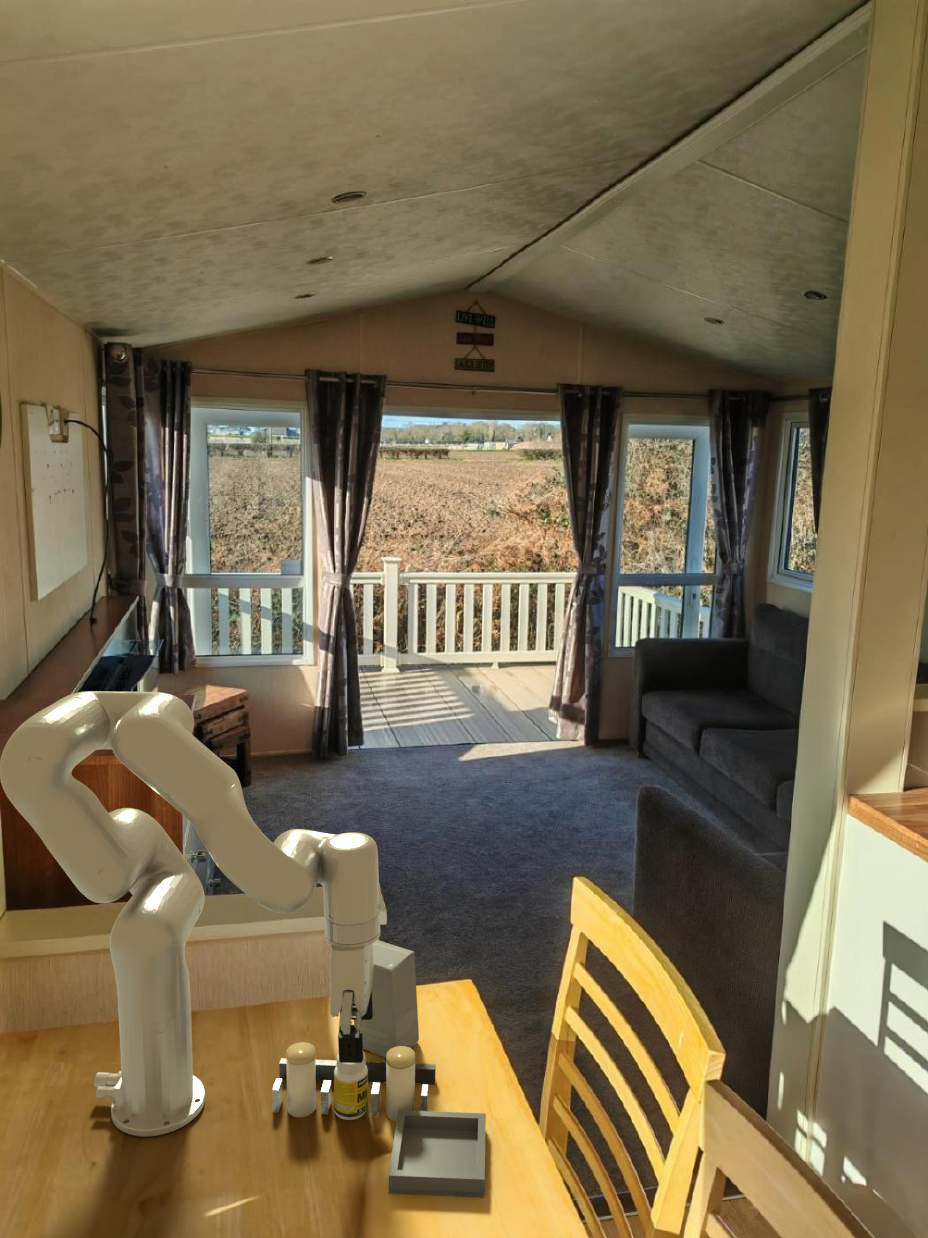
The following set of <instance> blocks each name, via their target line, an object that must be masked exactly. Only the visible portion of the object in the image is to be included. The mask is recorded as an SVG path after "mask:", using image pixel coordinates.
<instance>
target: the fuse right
mask: <svg viewBox="0 0 928 1238" xmlns="http://www.w3.org/2000/svg"><path fill="white" fill-rule="evenodd" d="M385 1060H386V1061H385V1062H386V1083H385V1093H386V1094H385V1114H386V1117H387V1118H388V1119H389V1120H391V1121H394V1122H397V1116H398V1110H410V1111H416V1107H415V1106H416V1104H415V1101H416V1099H415V1098H416V1095H415V1094H416V1084H415V1064H416V1052H415V1050H413V1048H412V1047H411V1048H409V1047H406V1046H397V1047H393V1048H391V1049H390V1050H389V1051H388V1052H387V1055H386V1058H385Z"/></svg>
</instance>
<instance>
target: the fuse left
mask: <svg viewBox="0 0 928 1238" xmlns="http://www.w3.org/2000/svg"><path fill="white" fill-rule="evenodd" d="M285 1052H286V1053H285V1055H286V1060H287V1079H286V1110H287V1113H288V1114H289V1116H291V1117H293V1118H304V1117H305V1118H306V1117H308V1116H310V1115H311V1114H313V1113H314V1112H315V1110H316V1108H317V1095H316V1093H317V1091H316V1090H317V1087H316V1086H317V1082H316V1081H317V1080H316V1061H315V1060H316V1047H315V1046H314V1045H313V1044H312V1043H309V1042H306V1041H305V1042H304V1041H303V1042H301V1041H300V1042H296V1043H293V1044H291V1045H290V1046H288V1048H287V1050H286V1051H285Z"/></svg>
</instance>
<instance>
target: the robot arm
mask: <svg viewBox="0 0 928 1238" xmlns="http://www.w3.org/2000/svg"><path fill="white" fill-rule="evenodd" d="M194 728H195V717H194V714H193V712H192V710H191V708H190V707H189V706H188V704H187V703H186V702H185V701H184V700H183V699H182V698H179V697H177V696H176V695H174V694H170V693H166V692H158V691H157V692H155V691H105V690H104V691H101V690H99V691H97V690H95V691H93V690H91V691H89V690H88V691H79V692H75V693H72V694H67V696H64V697H62V698H60V699H59V700H57V701H55V702H53V703H51V704H50V705H48V706H47V707H44V708H43V709H41V710H40V711H37V712H36V713H34V715H32V716H30V717H29V718H27V719H26V720H25V721H24V722H22V723H21V724H20V725H19V726H18V727H17V728H16V729H15V731H13V732H12V734H11V736H10V737H9V739H8V740H7V742H6V744H5V745H4V748H3V750H2V753H1V756H0V783H1V787H2V789H3V791H4V793H5V795H6V797H7V799H8V800H9V801H10V803H11V804H12V806H13V807H14V808H15V809H16V811H17V812H18V813H19V814H20V815H21V816H22V817H23V818H24V820H25V821H26V822H27V823H28V825H30V827H31V828H32V829H33V830H34V832H35V833H36V834H37V836H38V837H39V838H40V839H41V841H42V843H43V845H45V847H46V848H47V850H48V851H49V853H50V854H51V855H52V857H53V858H54V859H55V861H56V862H57V863H58V865H59V866H60V867H61V869H62V870H63V872H65V874H66V875H67V876H68V878H69V879H70V881H71V882H72V884H73V885H74V886H75V888H76V889H77V890H78V891H79V892H80V894H82V895H84V897H86V898H87V899H88V900H89V901H91V902H93V903H98V904H109V903H113V902H116V901H117V900H119V899H121V898H122V897H123V896H125V895H127V893H131V895H132V896H131V897H130V898H129V900H128V901H127V903H126V904H125V905H124V907H123V908H122V910H120V912H119V914H118V916H117V917H116V919H115V922H114V923H113V926H112V928H111V932H110V937H109V953H110V957H111V961H112V963H111V964H112V967H113V970H114V976H115V984H116V993H117V994H116V995H117V996H116V997H117V1012H118V1030H119V1032H118V1033H119V1052H120V1070H119V1071H118V1073H116V1072H115V1073H112V1072H103V1071H99V1072H96V1074H95V1077H94V1081H93V1083H94V1084H93V1085H94V1087H95V1088H96V1090H95V1091H96V1092H95V1097H96V1098H112V1103H111V1106H110V1107H111V1108H110V1114H111V1120H112V1123H113V1124H114V1126H115V1127H116V1128H117V1129H118V1130H119V1131H121V1132H123V1133H125V1134H128V1135H130V1136H135V1137H157V1136H162V1135H165V1134H169V1133H173V1132H175V1131H176V1130H179V1129H181V1128H183V1127H184V1126H186V1125H187V1124H189V1123H190V1122H191V1121H193V1120H194V1119H195V1118H197V1116H198V1115H199V1114H200V1113H201V1111H202V1109H203V1107H204V1106H205V1102H206V1090H205V1086H204V1084H203V1082H202V1080H200V1079H199V1078H198V1077H196V1076H195V1075H194V1065H193V1062H194V1061H193V1036H192V1034H193V1033H192V1030H193V1029H192V1004H191V1003H192V1000H191V983H190V982H191V981H190V972H189V969H188V965H187V961H186V955H185V952H186V946H187V945H186V944H187V941H188V939H189V937H190V935H191V933H192V931H193V928H194V927H195V925H196V923H197V921H198V920H199V918H200V916H201V914H202V912H203V909H204V905H205V899H206V897H205V891H204V887H203V885H202V881H201V879H200V878H199V876H198V875H197V874H196V872H195V870H194V869H193V868H192V866H191V865H190V863H189V862H188V861H187V859H186V858H185V857H184V855H183V854H182V852H181V851H180V849H179V848H178V847H177V845H176V844H175V842H174V841H173V840H172V839H171V837H170V835H169V834H168V833H167V832H166V831H165V829H164V828H163V826H162V825H161V824H160V823H159V822H158V820H156V818H154V817H152V816H151V815H150V814H149V813H146V812H145V811H143V810H141V809H137V808H131V807H122V808H117V809H115V810H112V811H109V812H108V811H107V809H106V808H105V806H104V805H103V804H102V802H101V801H100V799H99V798H98V797H97V795H96V794H95V793H94V792H93V791H92V789H90V788H89V787H88V786H87V785H85V784H84V783H82V782H81V781H79V780H78V779H76V778H75V777H74V776H73V775H72V774H73V773H72V772H73V770H74V768H75V767H76V766H78V764H80V763H81V762H82V761H84V760H85V759H87V758H88V757H89V756H90V755H91V754H93V753H94V752H95V751H99V750H112V753H113V755H114V756H115V757H116V758H117V760H118V761H119V762H120V763H121V764H122V765H123V766H124V767H126V768H127V769H128V770H129V771H130V772H131V773H132V774H134V775H135V776H137V777H136V778H139V779H140V780H141V781H142V782H144V784H146V785H147V786H148V787H149V788H151V789H152V790H153V791H154V792H155V793H156V794H158V795H159V796H160V797H161V798H162V799H164V800H165V802H167V803H168V804H169V805H171V806H172V807H173V808H174V809H175V810H177V812H179V813H180V814H181V815H182V816H183V817H185V818H186V819H187V820H188V821H189V822H190V823H191V825H192V826H193V828H194V830H195V832H196V834H197V836H198V837H199V840H200V842H201V843H202V844H203V846H204V847H205V849H206V851H207V852H208V854H209V856H210V857H211V859H212V860H213V862H214V864H215V865H216V866H217V868H218V869H219V870H220V872H222V873H223V875H224V876H225V877H226V878H227V879H228V880H229V881H230V882H231V883H232V884H234V885H235V886H236V887H237V888H238V889H240V890H241V891H242V892H243V893H244V894H246V895H247V896H248V897H249V898H251V899H252V900H253V901H255V903H257V904H259V906H261V907H263V908H265V909H266V910H269V911H272V912H274V913H279V914H291V913H295V912H296V911H299V910H301V909H302V908H304V907H305V906H307V904H308V903H309V901H310V900H311V898H312V896H313V894H314V892H315V889H316V887H317V884H320V885H321V886H322V893H323V918H324V919H323V920H324V938H325V942H327V943H328V944H330V957H329V958H330V960H329V962H330V963H329V964H330V965H329V1014H330V1016H331V1017H332V1018H335V1017H338V1016H339V1021H338V1023H339V1024H338V1034H337V1041H338V1042H337V1043H338V1044H337V1045H338V1046H337V1047H338V1053H339V1061H340V1062H341V1063H361V1062H362V1061H363V1051H364V1049H363V1034H362V1033H360V1028H361V1020H371V1019H372V1017H373V1008H372V992H371V990H372V985H373V976H374V953H373V942H375V941H376V940H379V938H380V936H381V916H380V915H381V914H380V913H381V912H380V911H381V910H380V909H381V907H380V881H379V880H380V877H379V851H378V845H377V843H376V841H375V839H374V838H372V837H371V836H370V835H369V834H365V833H362V832H354V831H353V832H344V833H343V832H342V833H339V834H335V833H327V832H322V831H316V830H311V829H304V828H303V829H302V828H296V829H295V828H293V829H288V830H287V831H284V832H282V833H281V834H279V835H278V836H277V837H276V839H275V840H274V841H272V840H271V839H270V838H269V837H267V836H266V835H265V833H263V832H262V830H261V829H260V828H259V827H258V825H257V824H256V823H255V821H254V819H253V818H252V815H251V813H250V812H249V810H248V808H247V807H248V806H247V805H246V801H245V797H244V793H243V788H242V785H241V781H240V779H239V776H238V775H237V773H236V771H235V770H234V769H233V768H232V767H231V766H230V765H228V764H227V763H226V762H224V760H222V759H221V758H220V757H219V756H218V755H217V754H215V753H214V752H213V751H211V750H210V748H208V747H207V746H206V745H205V744H203V743H202V742H201V741H200V740H199V739H198V738H197V737H195V736H194V735H193V732H194ZM352 1020H353V1021H354V1020H356V1027H355V1026H354V1024H352Z"/></svg>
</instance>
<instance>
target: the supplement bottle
mask: <svg viewBox="0 0 928 1238" xmlns="http://www.w3.org/2000/svg"><path fill="white" fill-rule="evenodd" d="M336 1060H337V1066H336V1067H335V1070H334V1081H333V1110H334V1111H333V1112H334V1113H335V1115H336V1116H337V1117H338V1118H339V1119H342V1120H346V1121H354V1120H358V1119H360V1118H362V1117H363V1116H364V1115H365V1114H366V1113H367V1110H368V1104H369V1103H368V1101H369V1100H368V1096H369V1094H368V1093H369V1092H368V1091H369V1088H368V1085H369V1082H368V1069H367V1066H366V1064H365V1063H366V1062H367V1061H366V1053H365V1051H364V1050H363V1061H362V1062H361V1063H341V1062H340V1061H339V1052H337V1055H336Z"/></svg>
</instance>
